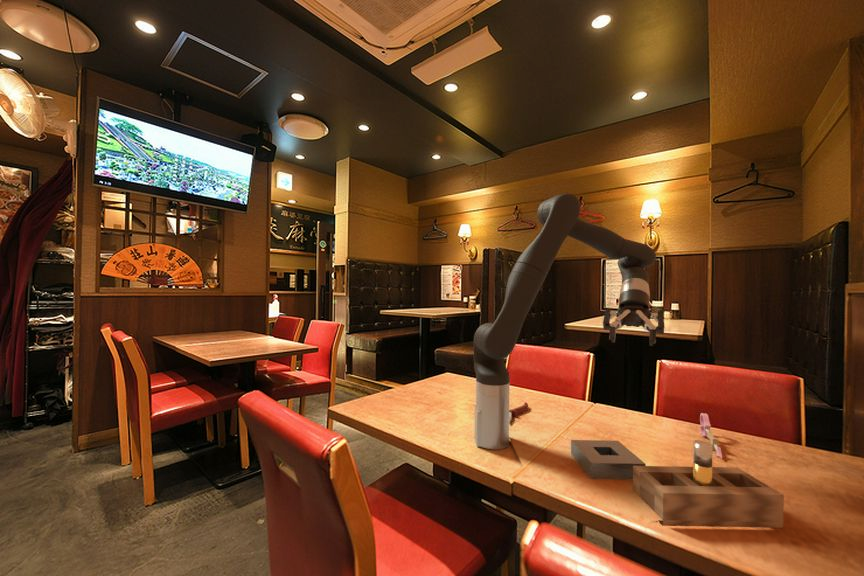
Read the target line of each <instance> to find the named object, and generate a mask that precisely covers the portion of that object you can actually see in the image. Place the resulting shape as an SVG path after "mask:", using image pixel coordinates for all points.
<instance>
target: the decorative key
mask: <svg viewBox="0 0 864 576" xmlns="http://www.w3.org/2000/svg"><path fill="white" fill-rule="evenodd" d="M699 423H700V427H699V432H700V435H701V434H702V435H701V437H702V436H703V437H704V438H708V440H709V441H710V444H711V445H712V452H716V457H719V458H721V459H723V455H722V448H721V447H720V446H719V438H716V437H714V434H713V431H712V430H711V426H712V425H711V422H710V418H709V414H707V413H703V412H701V413H700V415H699Z"/></svg>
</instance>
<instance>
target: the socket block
mask: <svg viewBox="0 0 864 576" xmlns="http://www.w3.org/2000/svg"><path fill="white" fill-rule="evenodd" d="M570 454H571V456H572V457H573V458H574V459H575V460H576V462H577V463H578V465H580V467H581V468H582V469H583V470H584V472H585V473H586V474H587V476H589V479H591V480H632V481H633V466H647V465H646V462H644V461H643V460H642V459H640V458H639V457H638V456H637V455H636V454H634V453H633V451H632V450H630V449H628V448H627V447H626V446H625V445H624V444H623V443H622V442H620V441H619V440H604V439H603V440H601V439H600V440H598V439H597V440H595V439H571V440H570Z"/></svg>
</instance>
